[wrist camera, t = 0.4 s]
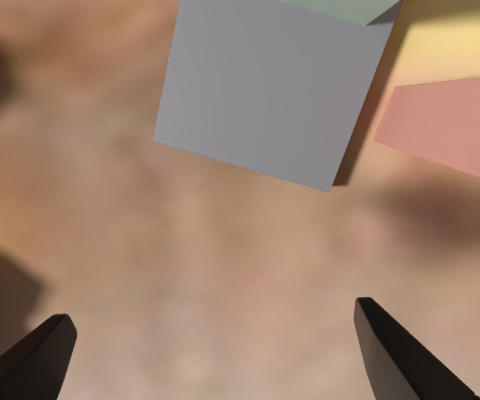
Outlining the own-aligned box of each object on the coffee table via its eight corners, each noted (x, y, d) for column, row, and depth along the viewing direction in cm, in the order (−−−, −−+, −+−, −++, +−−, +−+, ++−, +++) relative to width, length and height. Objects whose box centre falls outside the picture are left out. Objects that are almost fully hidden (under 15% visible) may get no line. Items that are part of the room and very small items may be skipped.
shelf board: (325, 186, 23) (329, 192, 21) (159, 138, 22) (152, 141, 21) (442, -126, 17) (458, -147, 16) (226, -194, 17) (223, -222, 16)
